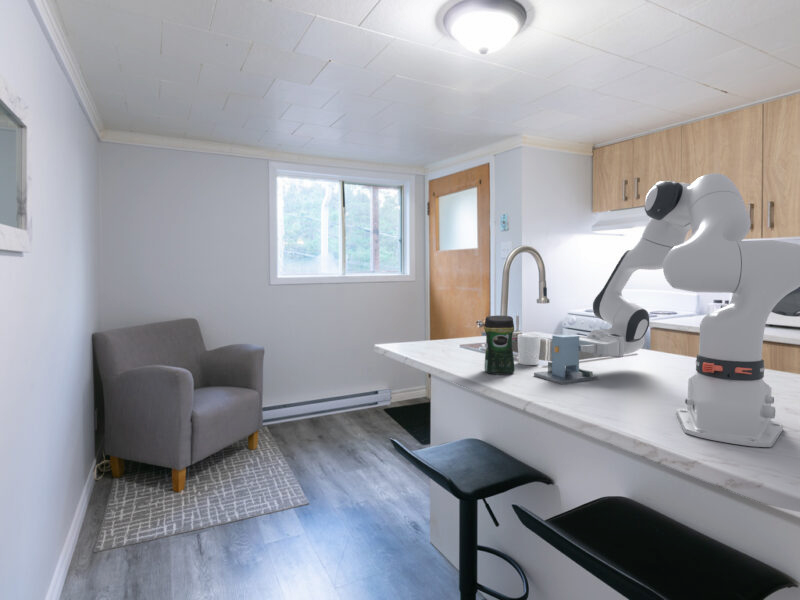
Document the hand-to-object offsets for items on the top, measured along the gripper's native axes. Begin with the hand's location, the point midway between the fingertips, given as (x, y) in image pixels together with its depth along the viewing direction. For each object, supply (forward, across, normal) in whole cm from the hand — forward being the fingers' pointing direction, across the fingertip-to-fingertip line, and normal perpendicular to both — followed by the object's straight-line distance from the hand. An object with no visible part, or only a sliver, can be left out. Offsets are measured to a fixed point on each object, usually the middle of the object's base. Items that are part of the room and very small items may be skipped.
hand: (568, 346), depth 143 cm
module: (+1, 0, +9) cm, 9 cm away
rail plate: (+1, 0, +10) cm, 10 cm away
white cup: (-3, -22, +10) cm, 24 cm away
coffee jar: (+15, -15, +10) cm, 23 cm away
